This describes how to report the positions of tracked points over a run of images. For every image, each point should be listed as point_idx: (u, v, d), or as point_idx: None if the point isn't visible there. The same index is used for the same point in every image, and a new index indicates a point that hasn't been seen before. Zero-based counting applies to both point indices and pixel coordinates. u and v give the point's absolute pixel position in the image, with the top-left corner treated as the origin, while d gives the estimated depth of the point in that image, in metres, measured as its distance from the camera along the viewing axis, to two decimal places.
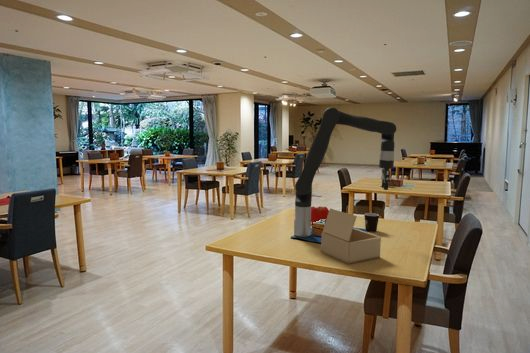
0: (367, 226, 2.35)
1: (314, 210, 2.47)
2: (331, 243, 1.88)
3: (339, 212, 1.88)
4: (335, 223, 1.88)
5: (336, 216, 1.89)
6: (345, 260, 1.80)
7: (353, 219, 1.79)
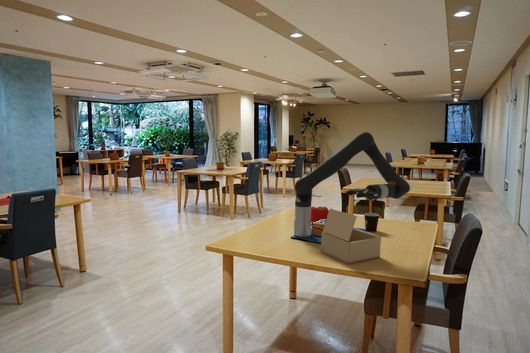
0: (367, 226, 2.35)
1: (314, 210, 2.47)
2: (331, 243, 1.88)
3: (339, 212, 1.88)
4: (335, 223, 1.88)
5: (336, 216, 1.89)
6: (345, 260, 1.80)
7: (353, 219, 1.79)
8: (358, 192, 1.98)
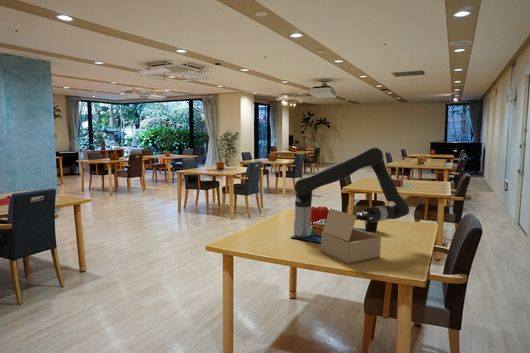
0: (367, 226, 2.35)
1: (314, 210, 2.47)
2: (331, 243, 1.88)
3: (339, 212, 1.88)
4: (335, 223, 1.88)
5: (336, 216, 1.89)
6: (345, 260, 1.80)
7: (353, 219, 1.79)
8: None
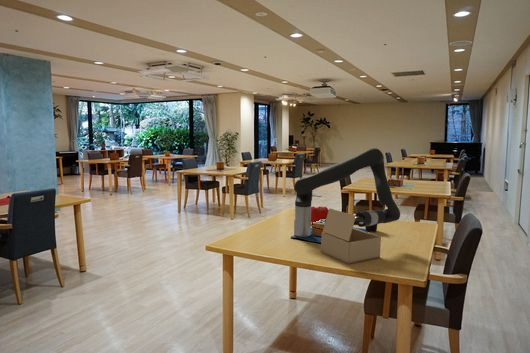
0: (367, 226, 2.35)
1: (314, 210, 2.47)
2: (331, 243, 1.88)
3: (338, 212, 1.88)
4: (335, 223, 1.87)
5: (336, 216, 1.89)
6: (345, 260, 1.80)
7: (353, 219, 1.79)
8: None
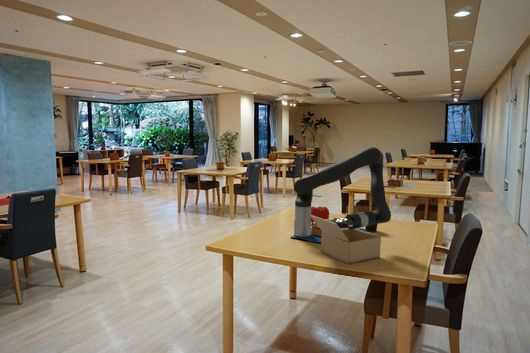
0: (367, 226, 2.35)
1: (314, 210, 2.47)
2: (331, 243, 1.88)
3: (320, 219, 1.83)
4: (326, 227, 1.85)
5: (321, 222, 1.85)
6: (345, 260, 1.80)
7: (336, 226, 1.74)
8: None
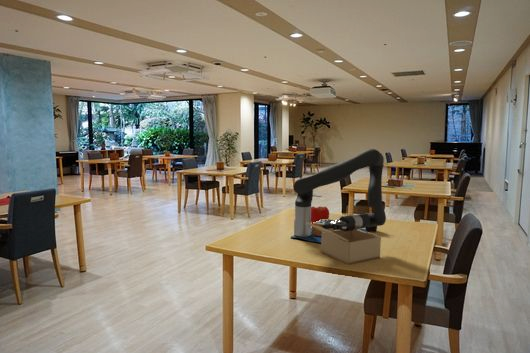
0: None
1: (314, 210, 2.47)
2: (331, 243, 1.88)
3: (316, 227, 1.82)
4: (324, 231, 1.85)
5: (318, 228, 1.84)
6: (345, 260, 1.80)
7: (332, 233, 1.74)
8: None
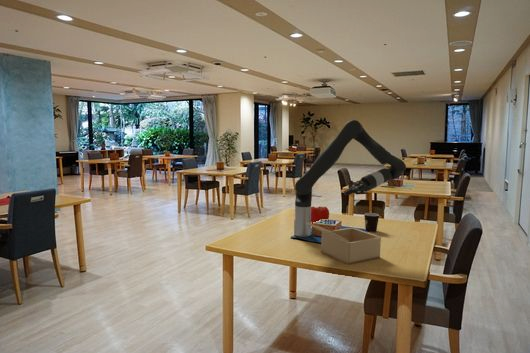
0: (367, 226, 2.35)
1: (314, 210, 2.47)
2: (331, 243, 1.88)
3: (316, 227, 1.82)
4: (324, 231, 1.85)
5: (318, 228, 1.84)
6: (345, 260, 1.80)
7: (332, 233, 1.74)
8: (353, 184, 2.00)
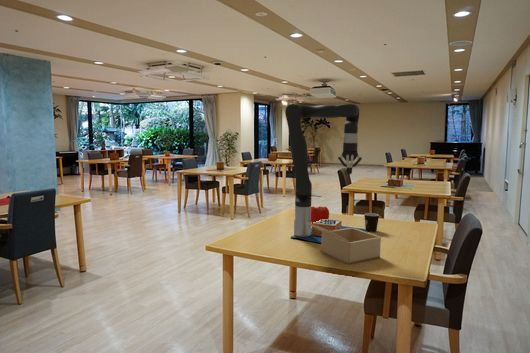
0: (367, 226, 2.35)
1: (314, 210, 2.47)
2: (331, 243, 1.88)
3: (316, 227, 1.82)
4: (324, 231, 1.85)
5: (318, 228, 1.84)
6: (345, 260, 1.80)
7: (332, 233, 1.74)
8: None
